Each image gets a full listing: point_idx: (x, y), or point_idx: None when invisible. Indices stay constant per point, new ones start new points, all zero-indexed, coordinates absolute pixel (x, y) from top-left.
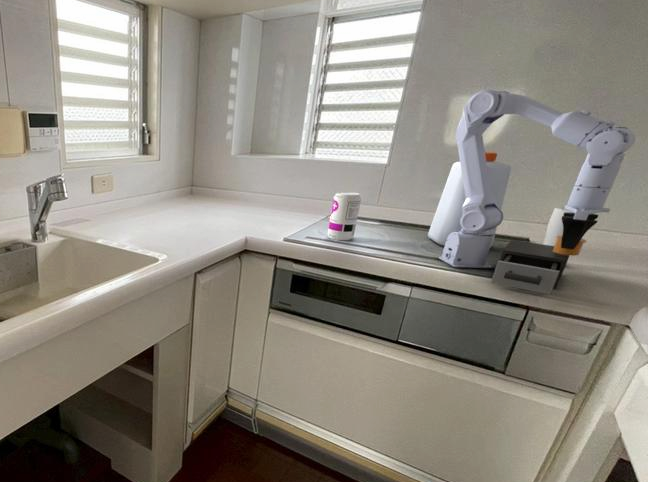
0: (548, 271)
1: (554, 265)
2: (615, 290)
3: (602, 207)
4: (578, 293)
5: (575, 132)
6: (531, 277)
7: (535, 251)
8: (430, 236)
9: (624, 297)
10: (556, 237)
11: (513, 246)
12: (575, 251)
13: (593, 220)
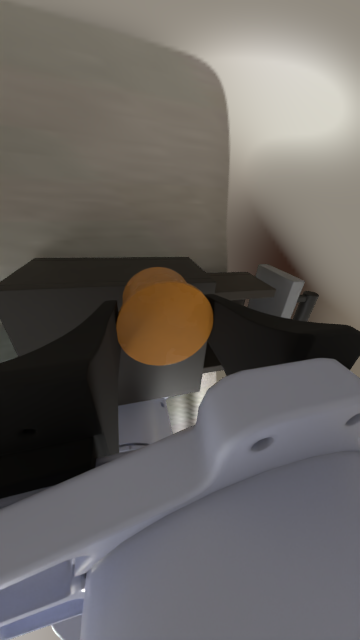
0: (296, 297)
1: (237, 296)
2: (67, 107)
3: (348, 476)
4: (189, 214)
5: None
6: (311, 310)
7: None
8: None
9: (138, 90)
10: (175, 362)
11: (141, 392)
12: (186, 282)
13: (319, 353)
